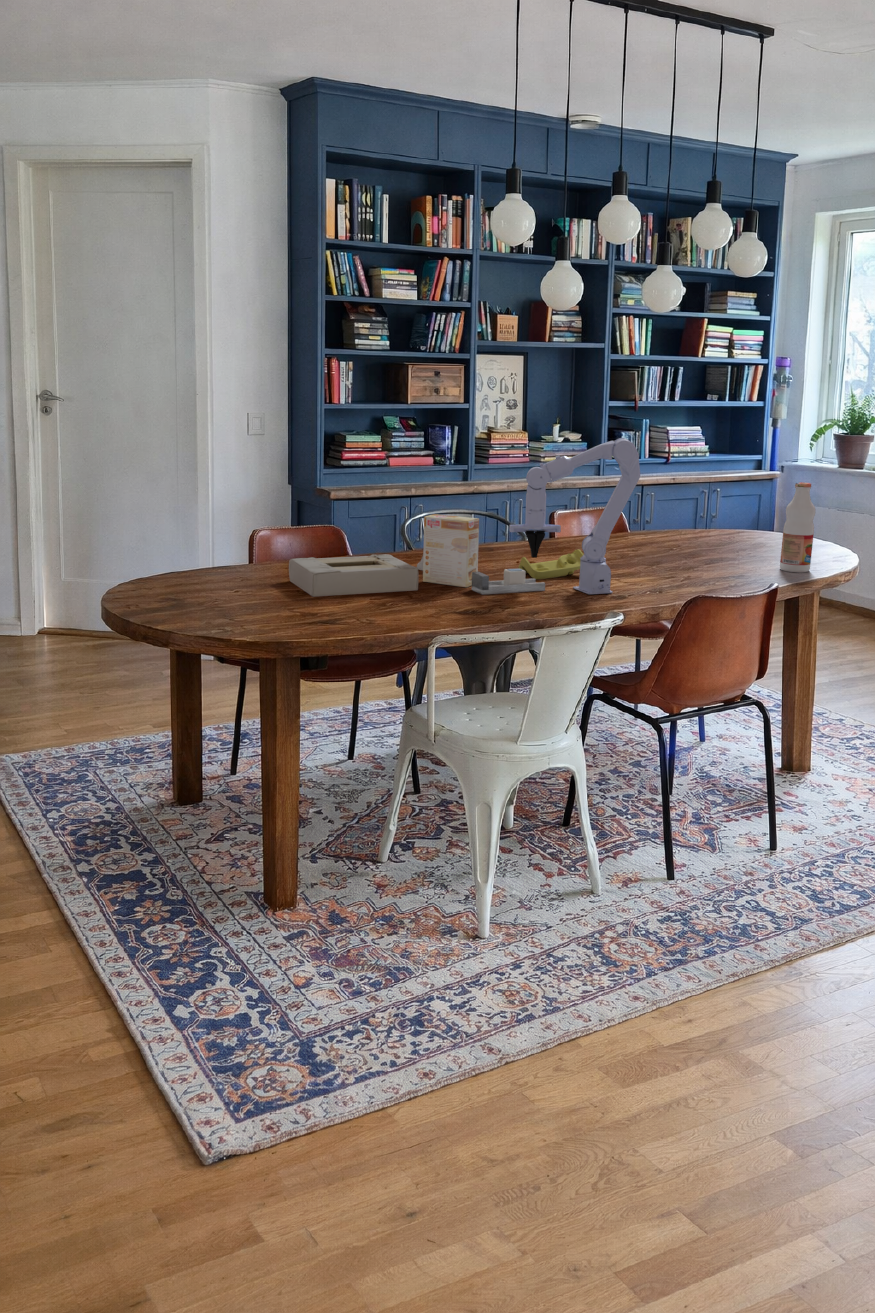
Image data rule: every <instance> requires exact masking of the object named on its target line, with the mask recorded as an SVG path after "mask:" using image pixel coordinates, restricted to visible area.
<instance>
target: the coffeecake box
mask: <svg viewBox="0 0 875 1313" xmlns="http://www.w3.org/2000/svg"><path fill="white" fill-rule="evenodd" d="M479 537H480V518H479V517H478V518H477V517H468V516H457V515H448V514H437V513H435V514H429V515H425V516H423V552H422V553H423V554H422V557H423V570H422V582H423V583H432V584H438V585H447V586H453V587H462V588H469V587H472V572H479V570H478V569H479V566H478V565H479V540H480V538H479Z"/></svg>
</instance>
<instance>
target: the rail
mask: <svg viewBox="0 0 875 1313" xmlns="http://www.w3.org/2000/svg"><path fill="white" fill-rule="evenodd" d="M536 580H537V579H534V578H525V584H509V585H503V584H504V579H502V580H490V576H489V575H487V574H485V573H484V572H480V571H478V572H472V586H471V590H472V591H473V592H475V593H477V594H480V595H499V594H511V593H512V594H513V593H527V592H529V593H531V592H543V591H546V582H544V581H542V582H537V581H536Z"/></svg>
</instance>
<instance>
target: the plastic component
mask: <svg viewBox="0 0 875 1313" xmlns="http://www.w3.org/2000/svg"><path fill="white" fill-rule="evenodd" d="M583 555H584V552H583V551H582V550H581V549H580V548H579V549H575V550H573V551H572V552H571V553H567V554H563V555H561V556H559V557H558V559H555V560H548V561H541V562H536V563H535V562H534V563H530V561H529V560H528V559H527V558H526V556H523V557H521V560H520V563H519V565H518V567H517V569H522V570H524V571H526V574H529V576H530V577H531V579H536V580H543V579H544V580H545V579H552V578H553V579H554V578H558V577H559V578H560V577H565V576H567V575H573V574H574V573H575V571H577V570H580V560H581V557H582V556H583Z"/></svg>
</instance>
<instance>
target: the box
mask: <svg viewBox="0 0 875 1313" xmlns="http://www.w3.org/2000/svg"><path fill="white" fill-rule="evenodd" d="M288 575H289V576H288V577H289V581H290V583H292V584H294V585H295V586H297V587H298V588H300V590H303V591H304V592H305V593H307V594H308V595H310V596H311V597H313V598H314V597H327V596H342V595H362V594H376V593H393V592H394V593H395V592H396V593H397V592H407V591H408V592H410V591H418V590H419V578H420V576H419V570H418V568H417V566H414V565H412V564H409V563H407V562H405V561H403V560H402V559H399V558H397V557H394V556H393V555H391V554H386V553H385V554H370V555H362V556H360V555H358V556H343V557H342V556H341V557H340V556H339V557H338V556H337V557H322V558H321V557H318V558H317V557H312V556H311V557H297V558H290V559H289V561H288Z"/></svg>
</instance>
